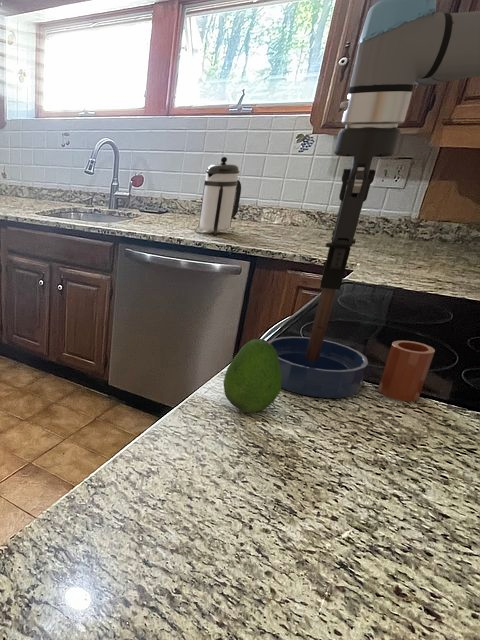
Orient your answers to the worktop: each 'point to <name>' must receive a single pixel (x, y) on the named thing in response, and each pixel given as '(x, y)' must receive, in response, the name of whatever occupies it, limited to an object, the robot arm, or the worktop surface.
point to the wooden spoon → (320, 324)
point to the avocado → (253, 377)
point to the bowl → (320, 368)
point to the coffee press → (220, 197)
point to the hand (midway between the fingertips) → (330, 285)
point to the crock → (405, 370)
